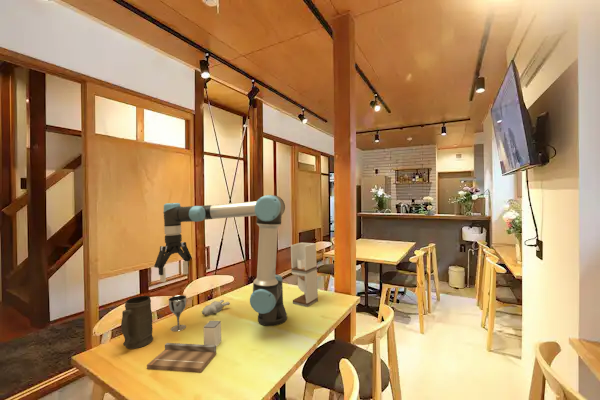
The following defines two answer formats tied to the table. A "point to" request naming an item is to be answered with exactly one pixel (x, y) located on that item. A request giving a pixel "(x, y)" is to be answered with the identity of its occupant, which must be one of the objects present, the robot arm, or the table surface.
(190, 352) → the board
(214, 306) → the bunny figurine
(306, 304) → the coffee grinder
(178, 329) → the wine glass
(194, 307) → the table surface
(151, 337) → the beer stein
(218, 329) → the block
